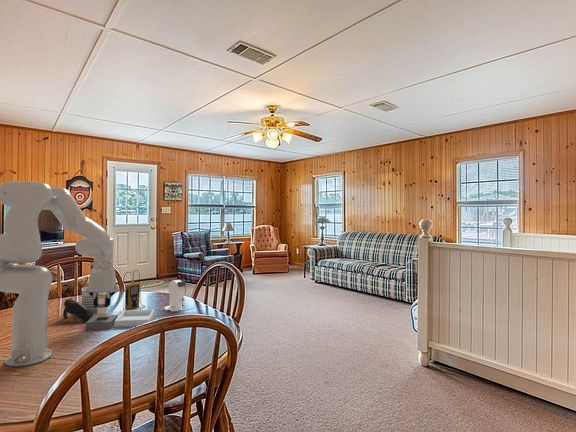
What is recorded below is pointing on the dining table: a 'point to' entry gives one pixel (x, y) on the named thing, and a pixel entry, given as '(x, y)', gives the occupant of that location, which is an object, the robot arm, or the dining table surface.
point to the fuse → (101, 305)
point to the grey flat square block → (101, 322)
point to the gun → (76, 310)
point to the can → (89, 300)
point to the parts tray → (134, 318)
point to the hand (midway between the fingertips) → (102, 306)
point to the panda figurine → (176, 294)
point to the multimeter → (132, 294)
